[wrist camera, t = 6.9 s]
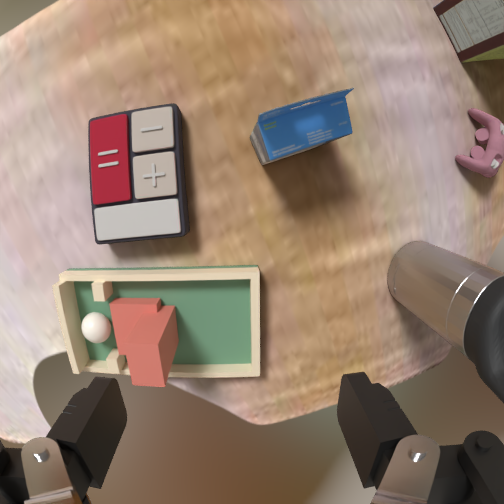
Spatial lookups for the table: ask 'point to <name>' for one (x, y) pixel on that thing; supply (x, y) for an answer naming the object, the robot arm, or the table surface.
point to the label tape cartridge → (301, 126)
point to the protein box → (474, 27)
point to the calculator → (138, 175)
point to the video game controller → (498, 149)
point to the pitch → (187, 316)
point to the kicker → (145, 338)
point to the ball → (96, 327)
